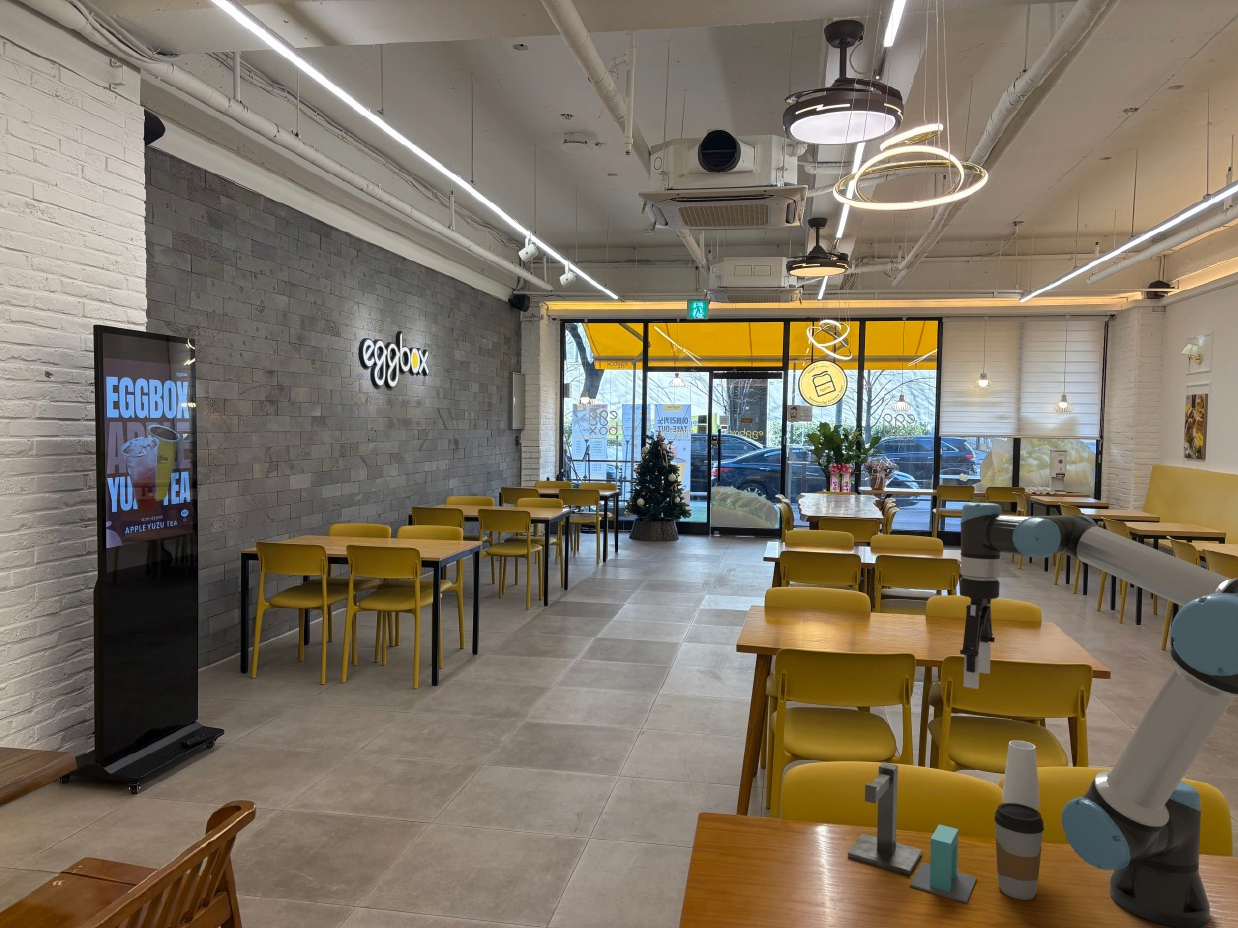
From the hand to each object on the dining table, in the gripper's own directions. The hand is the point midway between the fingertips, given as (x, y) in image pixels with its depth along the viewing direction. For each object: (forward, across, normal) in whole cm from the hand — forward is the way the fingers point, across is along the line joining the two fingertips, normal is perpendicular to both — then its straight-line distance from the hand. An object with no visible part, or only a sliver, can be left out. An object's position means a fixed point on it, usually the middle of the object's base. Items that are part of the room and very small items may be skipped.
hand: (977, 679), depth 167 cm
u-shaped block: (+34, +19, -2) cm, 39 cm away
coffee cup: (+35, +14, +10) cm, 39 cm away
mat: (+35, +19, -2) cm, 40 cm away
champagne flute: (+35, +3, +9) cm, 36 cm away
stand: (+35, +18, -14) cm, 42 cm away
